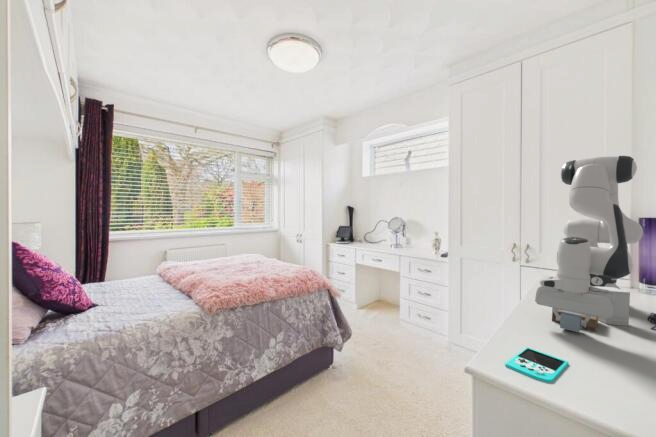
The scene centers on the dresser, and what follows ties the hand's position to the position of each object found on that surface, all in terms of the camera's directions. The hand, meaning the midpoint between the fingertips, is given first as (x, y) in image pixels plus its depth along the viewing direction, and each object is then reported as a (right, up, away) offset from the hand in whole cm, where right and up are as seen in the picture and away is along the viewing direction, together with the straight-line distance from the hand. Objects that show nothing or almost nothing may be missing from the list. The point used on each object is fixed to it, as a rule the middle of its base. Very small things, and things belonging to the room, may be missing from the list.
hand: (570, 323), depth 97 cm
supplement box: (+23, -3, +10) cm, 25 cm away
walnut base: (+9, -3, +9) cm, 13 cm away
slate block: (0, -2, 0) cm, 2 cm away
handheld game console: (-28, -4, -22) cm, 36 cm away
